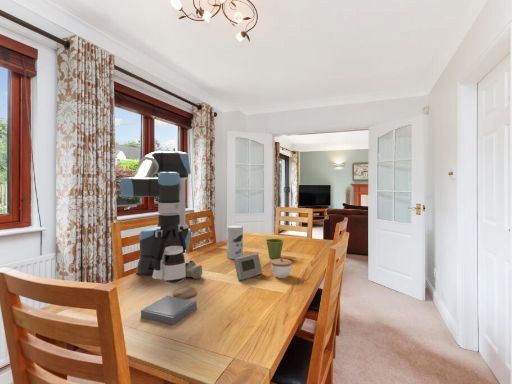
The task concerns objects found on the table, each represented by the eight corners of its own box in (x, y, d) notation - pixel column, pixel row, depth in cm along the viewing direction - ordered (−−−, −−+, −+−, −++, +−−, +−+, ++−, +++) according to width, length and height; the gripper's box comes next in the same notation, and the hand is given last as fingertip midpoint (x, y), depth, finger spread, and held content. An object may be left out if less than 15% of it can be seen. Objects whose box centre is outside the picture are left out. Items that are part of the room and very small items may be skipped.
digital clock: (238, 281, 134) (238, 260, 134) (230, 276, 142) (230, 255, 141) (266, 276, 142) (266, 255, 142) (257, 271, 150) (257, 251, 150)
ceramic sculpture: (193, 264, 132) (171, 261, 140) (194, 282, 132) (172, 278, 140) (208, 259, 141) (186, 257, 149) (208, 276, 141) (187, 273, 149)
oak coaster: (167, 296, 116) (167, 294, 116) (182, 288, 125) (182, 286, 125) (187, 300, 112) (187, 298, 112) (201, 291, 122) (201, 289, 122)
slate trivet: (140, 317, 98) (140, 310, 98) (167, 301, 111) (167, 295, 111) (172, 325, 93) (172, 317, 93) (196, 307, 106) (196, 300, 106)
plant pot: (287, 257, 179) (287, 239, 178) (278, 261, 169) (278, 243, 168) (271, 254, 185) (271, 237, 185) (262, 258, 175) (262, 240, 175)
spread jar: (187, 282, 98) (186, 250, 97) (154, 288, 93) (152, 255, 92) (181, 270, 109) (180, 242, 108) (151, 276, 104) (149, 246, 103)
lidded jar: (294, 274, 145) (294, 257, 144) (287, 281, 135) (288, 262, 135) (275, 271, 149) (275, 254, 149) (267, 277, 140) (267, 259, 139)
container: (236, 260, 171) (236, 228, 170) (224, 257, 176) (224, 226, 175) (245, 256, 179) (245, 226, 178) (233, 254, 184) (233, 224, 184)
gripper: (155, 218, 89) (155, 286, 90) (195, 211, 110) (195, 266, 111) (137, 217, 92) (138, 282, 92) (180, 210, 113) (180, 264, 113)
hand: (169, 274), depth 101 cm, fingers closed on spread jar, 10 cm apart
